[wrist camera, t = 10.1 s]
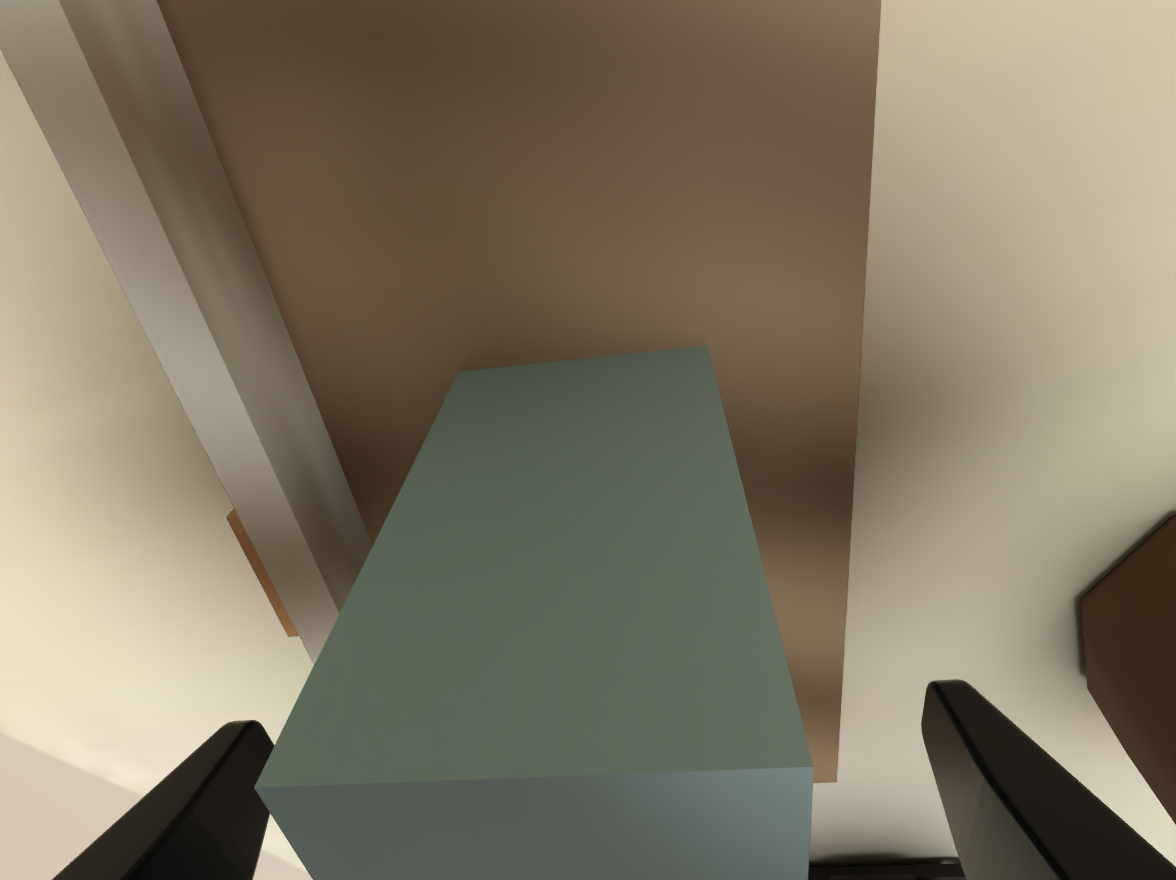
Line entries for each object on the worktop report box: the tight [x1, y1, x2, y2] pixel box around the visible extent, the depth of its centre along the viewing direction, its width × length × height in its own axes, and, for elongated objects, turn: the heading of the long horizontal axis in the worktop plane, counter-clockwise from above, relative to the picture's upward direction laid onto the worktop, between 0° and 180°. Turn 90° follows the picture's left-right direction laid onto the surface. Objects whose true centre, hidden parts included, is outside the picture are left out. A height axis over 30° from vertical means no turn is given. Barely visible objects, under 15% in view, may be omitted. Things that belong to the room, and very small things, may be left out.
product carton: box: [254, 345, 814, 880], centre depth 10 cm, size 5×6×8 cm
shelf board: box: [0, 0, 881, 783], centre depth 14 cm, size 20×11×4 cm, turn 8°
